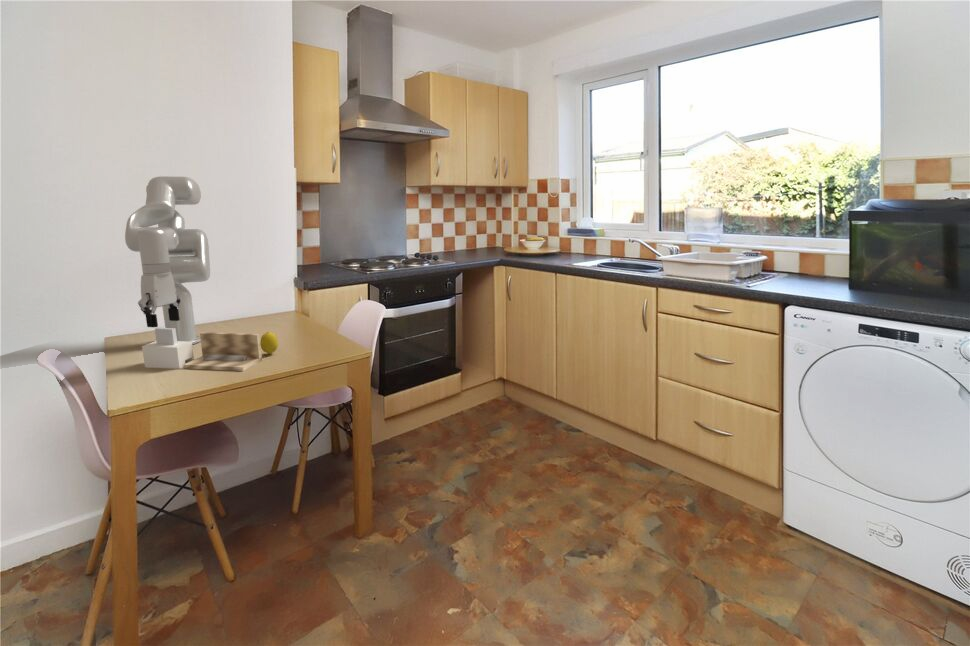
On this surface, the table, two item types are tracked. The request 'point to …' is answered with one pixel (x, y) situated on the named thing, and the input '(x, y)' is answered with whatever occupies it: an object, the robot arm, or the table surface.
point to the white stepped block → (167, 350)
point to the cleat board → (227, 351)
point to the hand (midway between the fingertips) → (163, 323)
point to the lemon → (269, 343)
